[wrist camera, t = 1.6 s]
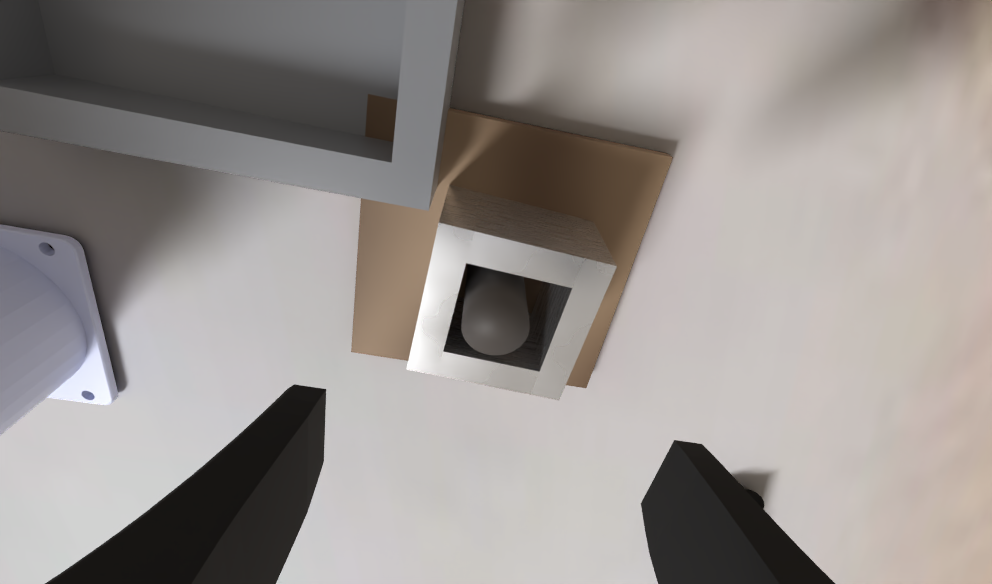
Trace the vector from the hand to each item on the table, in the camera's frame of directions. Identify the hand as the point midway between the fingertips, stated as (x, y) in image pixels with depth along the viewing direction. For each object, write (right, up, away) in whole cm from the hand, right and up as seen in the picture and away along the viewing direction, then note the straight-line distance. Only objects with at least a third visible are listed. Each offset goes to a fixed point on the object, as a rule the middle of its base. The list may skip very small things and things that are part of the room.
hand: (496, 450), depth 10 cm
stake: (0, +5, +8) cm, 9 cm away
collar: (0, +4, +8) cm, 9 cm away
